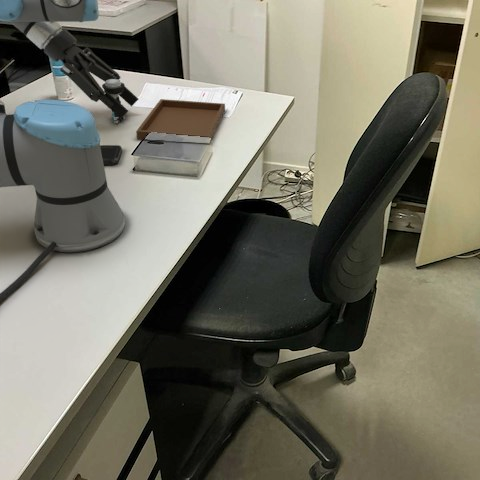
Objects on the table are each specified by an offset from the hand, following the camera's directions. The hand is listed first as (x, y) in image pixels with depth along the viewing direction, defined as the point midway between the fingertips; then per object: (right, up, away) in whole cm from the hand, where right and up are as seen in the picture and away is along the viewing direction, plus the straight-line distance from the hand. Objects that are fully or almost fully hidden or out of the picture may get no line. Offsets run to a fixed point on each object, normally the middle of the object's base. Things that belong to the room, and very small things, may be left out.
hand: (130, 108), depth 141 cm
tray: (+13, -4, +2) cm, 14 cm away
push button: (-4, -3, +2) cm, 5 cm away
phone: (-4, -15, -16) cm, 23 cm away
